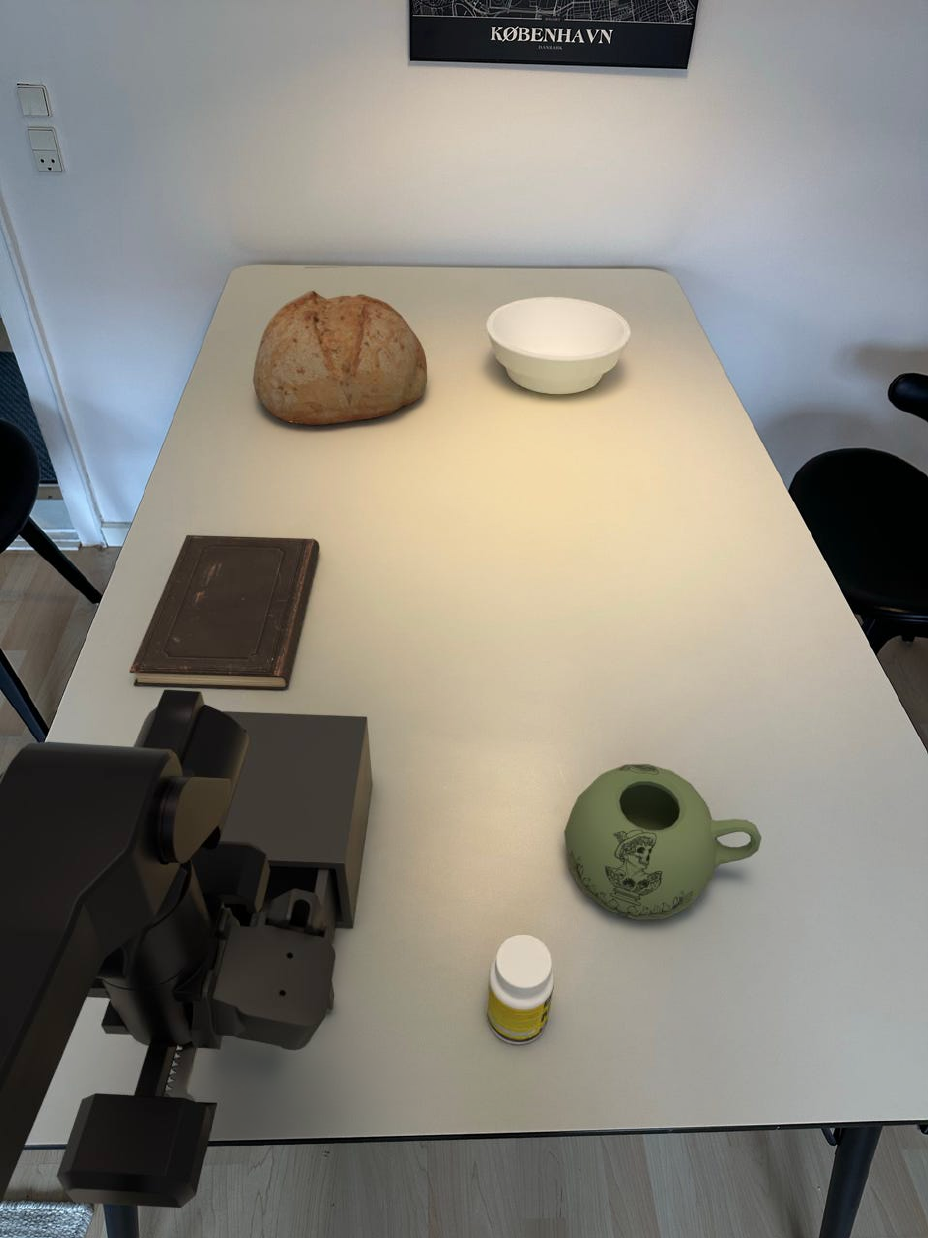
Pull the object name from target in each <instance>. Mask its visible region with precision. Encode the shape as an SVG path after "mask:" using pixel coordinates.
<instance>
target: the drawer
mask: <svg viewBox="0 0 928 1238" xmlns="http://www.w3.org/2000/svg"><path fill="white" fill-rule="evenodd" d="M269 868H270V874H269V878H268V882H267V887H266V891H265V896H264V900H263V906H262V910H261V911H262V912H268V908H269V906H270V904H271V902H272V900H273V899H275V898H277V897H279V896H281V895H283V894H285V893H287V892H289V891H291V890H293V889H300V890H304V891H308V892H312V893H316V895H317V896H318V898H319V901H320V904H321V906H322V909H323V916H322V923H323V925H324V926H325V927H326V926H328V927H332V928H333V929H332V931H333V936H332V943H331V944H332V945H333V944H334V936H335V929H336V927H335V924H336V918H337V911H338V905H339V891H338V884H337V877H336V870H335V868H313V867H289V866H269ZM334 1001H335V991H334V985H333V982H332V983H331V989H330V996H329V1002H328V1009H327V1011H332V1010H333V1007H334ZM225 1037H226V1038H235V1037H234V1036H223V1038H225Z"/></svg>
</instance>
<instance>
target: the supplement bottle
mask: <svg viewBox="0 0 928 1238" xmlns="http://www.w3.org/2000/svg"><path fill="white" fill-rule="evenodd" d="M488 973H489V974H488V983H487V986H488V987H487V994H486V995H487V996H486V1009H485V1013H486V1019H487V1023H488V1025H489V1027H490V1028H491V1029H490V1030H491V1031H492V1033H494V1035H495V1036H497V1037H498V1038H499V1039H500V1040H502V1041H504V1042H506V1043H508V1044H513V1045H524V1044H528V1043H531V1042H533V1041H535V1040H536V1039H538V1038H539V1037H540V1036H541V1035H542V1033H543V1032H544V1030H545V1029H546V1026H547V1023H548V1021H549V1020H548V1019H549V1016H550V1015H549V1014H550V1009H551V1004H552V998H553V992H554V987H555V974H554V969H553V959H552V955H551V951H550V949H549V948H548V946H546V944H545V943H544V942H543V941H542V940H540V939H538V938H537V937H536V936H533V935H529V934H517V935H516V934H515V935H513V936H510V937H508V938H507V939H505V940H503V942H502V943H501V944H500V945H499V947H498V949H497V951H496V955H495V957H494V959H493V960H492V963H491V965H490V968H489V971H488Z"/></svg>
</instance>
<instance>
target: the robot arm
mask: <svg viewBox="0 0 928 1238" xmlns="http://www.w3.org/2000/svg"><path fill="white" fill-rule="evenodd" d="M248 749H249V736H248V732H247V731H246V730H245V729H242V727H241V726H240V725H239V724H238V723H237V722H236V721H235V720H234V719H233V718H232V717H230V716H229V715H227V714H225V713H224V712H223V710H220V709H217V708H216V707H213V706H211V705H209V704H205V701H204V697H203V693H202V691H199V690H198V691H197V690H183V689H179V690H178V689H168V688H167V689H163V691H162V693H161V696H160V699H159V700H158V703H157V706H156V707H155V708H153V709H152V710H151V711H149V712H148V714H147V716H146V717H145V719H144V721H143V723H142V726H141V728H140V731H139V732H138V734H137V737H136V740H135V742H134V744H133V746H125V745H124V746H123V745H109V744H108V745H107V744H94V743H77V742H60V741H39V742H29V743H27V744H26V745H25V746H23V747H21V749H20V750H19V751H18V752H17V753H16V754H15V755H14V756H13V758H12V759H11V760H10V761H9V762H8V764H7V766H6V767H5V770H4V771H3V772H1V774H0V1205H1V1204H2V1202H3V1199H4V1197H5V1194H6V1192H7V1189H8V1187H9V1184H10V1182H11V1180H12V1177H13V1175H14V1173H15V1170H16V1168H17V1166H18V1163H19V1161H20V1159H21V1157H22V1154H23V1151H24V1149H25V1146H26V1144H27V1142H28V1139H29V1137H30V1134H31V1132H32V1130H33V1127H34V1125H35V1123H36V1120H37V1118H38V1115H39V1113H40V1111H41V1109H42V1108H41V1107H43V1103H44V1100H45V1098H46V1096H47V1093H48V1091H49V1089H50V1086H51V1084H52V1081H53V1079H54V1076H55V1074H56V1072H57V1069H58V1067H59V1065H60V1062H61V1060H62V1057H63V1055H64V1053H65V1050H66V1048H67V1045H68V1043H69V1041H70V1038H71V1036H72V1034H73V1031H74V1029H75V1026H76V1024H77V1022H78V1019H79V1017H80V1014H81V1012H82V1009H83V1007H84V1005H85V1003H86V1000H87V998H97V999H108V1000H109V1001H108V1003H107V1006H106V1009H105V1012H104V1015H103V1018H102V1020H101V1024H100V1025H101V1028H102V1030H103V1031H104V1033H105V1034H106V1035H120V1036H121V1035H123V1036H132V1038H133V1039H134V1040H135V1041H136V1042H138V1043H140V1044H142V1045H144V1046H147V1049H146V1053H145V1056H144V1060H143V1063H142V1066H141V1070H140V1074H139V1077H138V1081H137V1084H136V1087H135V1091H134V1093H133V1094H122V1093H121V1094H120V1093H119V1094H117V1093H101V1092H100V1093H99V1092H95V1093H93V1094H90V1095H88V1096H87V1097H84V1098H81V1101H80V1104H79V1107H78V1110H77V1112H76V1116H75V1119H74V1122H73V1125H72V1128H71V1130H70V1134H69V1137H68V1140H67V1143H66V1146H65V1149H64V1151H63V1155H62V1158H61V1160H60V1164H59V1167H58V1169H57V1173H56V1178H57V1180H58V1182H59V1183H60V1185H61V1187H62V1188H63V1190H64V1192H65V1194H66V1195H67V1196H68V1197H70V1199H71V1200H72V1201H73V1203H75V1204H77V1203H78V1204H80V1203H81V1204H94V1205H95V1204H96V1205H114V1206H131V1207H132V1206H134V1207H152V1208H153V1207H154V1208H168V1209H170V1208H171V1209H182V1208H183V1207H184V1206H185V1205H187V1204H188V1203H189V1202H190V1201H191V1200H193V1198H195V1197H196V1196H197V1193H198V1188H199V1183H200V1180H201V1175H202V1170H203V1166H204V1162H205V1158H206V1154H207V1151H208V1147H209V1142H210V1138H211V1137H210V1136H211V1134H212V1128H213V1124H214V1119H215V1116H216V1111H217V1106H218V1102H215V1101H213V1102H212V1101H196V1099H195V1098H194V1095H192V1094H191V1093H189V1092H188V1089H189V1087H190V1086H189V1085H190V1083H191V1082H190V1081H191V1077H192V1074H193V1070H194V1066H195V1062H196V1058H197V1054H198V1052H199V1051H198V1050H199V1049H205V1050H207V1049H208V1050H220V1049H221V1046H222V1042H223V1038H224V1037H223V1036H234V1037H233V1038H237V1039H241V1040H245V1041H246V1040H247V1041H252V1042H256V1043H262V1044H266V1045H272V1046H276V1047H280V1048H282V1049H284V1050H287V1051H288V1050H290V1051H299V1050H301V1049H303V1048H305V1047H306V1046H307V1045H308V1044H310V1041H311V1040H312V1038H313V1037H314V1035H315V1034H316V1032H317V1031H318V1029H319V1028H320V1026H321V1025H322V1023H323V1022H324V1020H325V1018H326V1016H327V1014H328V1010H327V1009H328V1002H329V996H330V989H331V983H332V984H333V976H334V970H335V964H336V963H335V962H336V951H335V948H334V946H333V944H331V943H332V936H333V931H332V929H333V928H332V927H328V926H326V927H325V926H324V925H323V923H322V916H323V909H322V906H321V904H320V901H319V898H318V896H317V895H316V893H312V892H308V891H304V890H300V889H293V890H291V891H289V892H287V893H285V894H283V895H281V896H279V897H277V898H275V899H273V900H272V902H271V904H270V906H269V908H268V912H262V911H261V910H262V906H263V900H264V896H265V891H266V887H267V882H268V878H269V874H270V868H269V864H268V859H267V855H266V854H265V853H264V852H263V851H262V850H261V849H260V848H258V847H257V846H255V845H253V844H251V843H249V842H231V841H220V838H221V835H222V832H223V829H224V826H225V822H226V819H227V816H228V813H229V810H230V806H231V803H232V800H233V797H234V793H235V790H236V787H237V784H238V781H239V777H240V774H241V771H242V768H243V765H244V761H245V758H246V755H247V752H248ZM178 1048H180V1049H178ZM174 1064H175V1065H174ZM171 1072H173V1073H171ZM169 1080H172V1081H169ZM167 1087H168V1088H169V1089H167Z"/></svg>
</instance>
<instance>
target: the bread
mask: <svg viewBox="0 0 928 1238" xmlns="http://www.w3.org/2000/svg"><path fill="white" fill-rule="evenodd" d="M260 339H261V340H260V342H259V345H258V349H257V352H256V358H255V362H254V368H253V376H252V383H253V387H254V391H255V394H256V396H257V398H258V399H259V400H260V402H261V403H262V405H263V406H264V407H265V408H266V409H267V410H268V411H269V412H270V413H272V415H274V416H276V418H278V417H280V418H279V419H281V418H282V419H281V420H283V421H286V422H287V423H288V422H289V423H290V424H299V425H308V426H309V425H310V426H319V425H320V426H321V425H329V423H330V424H331V425H332V424H339V423H346V422H352V421H359V420H368V419H373V418H377V417H381V416H382V417H383V416H386V415H390V414H391V413H393V412H395V411H397V410H398V409H400V408H402V407H404V406H407V405H410V404H412V403H414V402H415V401H417V400H418V399H419V398H420V397H421V396H422V395H423V394H424V392H425V389H426V387H427V382H428V365H427V357H426V352H425V348H424V347H423V345H422V343H421V341H420V340H419V338H418V336H417V335H416V333H415V332H414V331H413V329H412V328H411V327H410V325H409V323H407V321H406V319H405V318H404V317H403V316H402V314H401V313H399V312H398V311H397V310H396V309H395V308H394V307H392V306H391V305H390V304H389V303H387V302H385V301H383V300H381V299H379V298H374V297H372V296H369V295H367V294H363V293H360V294H357V295H354V296H351V295H340V296H336V297H331V298H325V297H323V296H322V295H320V294H319V293H317V292H316V291H315V290H309V291H308V292H306V293H303V294H302V295H300V296H298V297H296V298H294V299H293V300H291V301H289V302H287V303H286V304H284V305H283V306H282V307H281V308H280V309H279V310H278V311H277V312H276V313H275V314H274V315H273V316H272V317H271V318H270V320H269V321H268V323H267V325H266V327H265V329H264V330H263V333H262V336H261V338H260ZM290 421H292V422H290ZM296 422H297V423H296ZM303 423H305V424H303Z"/></svg>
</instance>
